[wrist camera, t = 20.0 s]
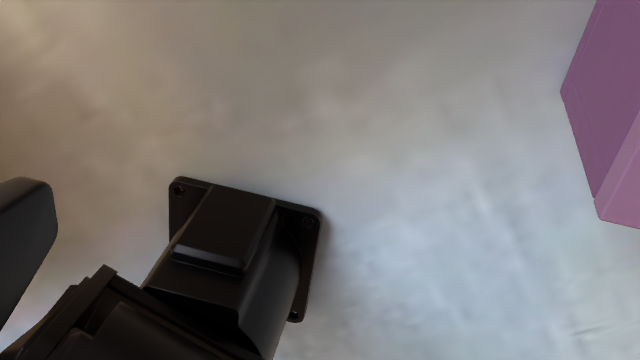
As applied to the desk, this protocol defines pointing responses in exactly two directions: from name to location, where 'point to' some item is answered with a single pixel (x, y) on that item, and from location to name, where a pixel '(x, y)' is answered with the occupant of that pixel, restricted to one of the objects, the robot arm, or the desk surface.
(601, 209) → the lid
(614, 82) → the file box
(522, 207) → the desk surface
